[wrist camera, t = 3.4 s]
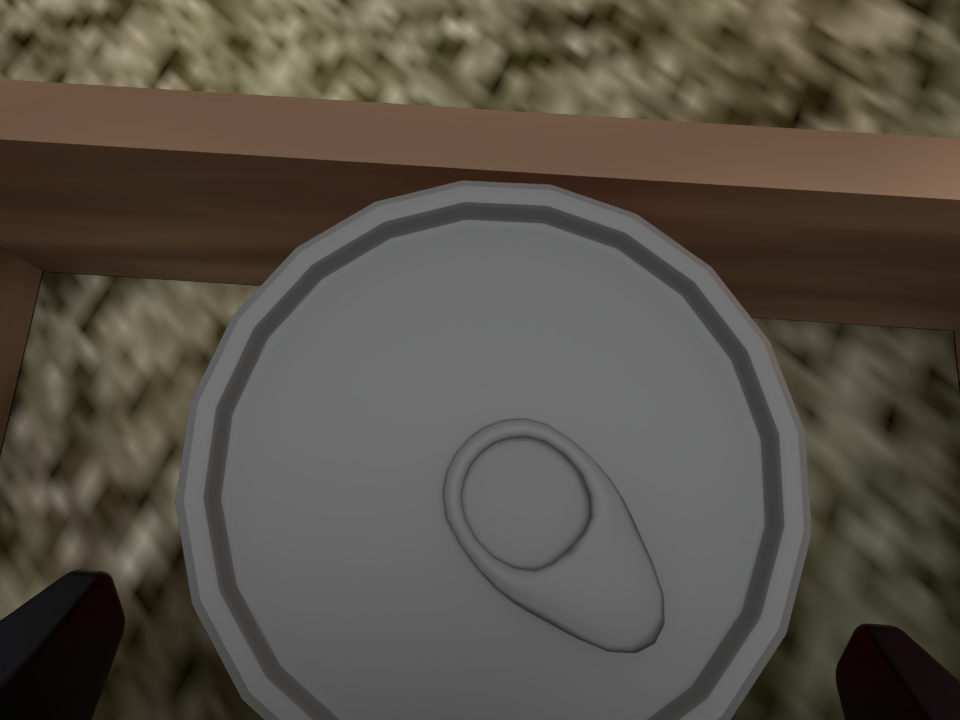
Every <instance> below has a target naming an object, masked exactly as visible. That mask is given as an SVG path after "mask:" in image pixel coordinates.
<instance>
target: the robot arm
mask: <svg viewBox="0 0 960 720" xmlns="http://www.w3.org/2000/svg"><path fill="white" fill-rule="evenodd" d="M124 626H125V617H124V612H123V609H122V606H121V603H120V600H119V597H118V594H117V591H116V588H115V585H114V582H113V579H112V577H111V576H110V575H109V574H108V573H107V572H103V571H89V570H75V571H72V572H70V573H67V574H66V575H64V576H63V577H61V578H60V579H58V580H57V581H56V582H54V583H53V584H51V585H50V586H49V587H47V588H46V589H44V590H43V591H42V592H40V593H39V594H37V595H36V596H35V597H33V598H32V599H30V600H29V601H28V602H26V603H25V604H23V605H22V606H21V607H19V608H18V609H16V610H15V611H14V612H12V613H11V614H9V615H8V616H7V617H5V618H4V619H2V620H1V621H0V720H92V717H93V714H94V712H95V709H96V706H97V704H98V701H99V698H100V695H101V693H102V690H103V687H104V685H105V682H106V679H107V676H108V674H109V671H110V668H111V665H112V663H113V660H114V657H115V655H116V652H117V649H118V646H119V644H120V641H121V638H122V635H123V631H124ZM836 684H837V689H838V693H839V697H840V701H841V705H842V709H843V713H844V717H845V720H960V682H959V681H958V680H957V679H956V678H955V677H954V676H953V675H952V674H950V673H949V672H948V671H947V670H946V669H945V668H944V667H943V666H942V665H940V664H939V663H938V662H937V661H936V660H935V659H934V658H933V657H931V656H930V655H929V654H928V653H927V652H926V651H925V650H924V649H923V648H921V647H920V646H919V645H918V644H917V643H916V642H915V641H914V640H912V639H911V638H910V637H909V636H908V635H907V634H906V633H905V632H903V631H902V630H900V629H899V628H897V627H895V626H890V625H879V624H861V625H860V626H858V627H857V628H856V629H855V630H854V632H853V634H852V636H851V638H850V640H849V642H848V644H847V646H846V648H845V650H844V652H843V654H842V656H841V658H840V660H839V662H838V664H837V668H836Z"/></svg>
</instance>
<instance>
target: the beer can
mask: <svg viewBox="0 0 960 720" xmlns="http://www.w3.org/2000/svg"><path fill="white" fill-rule="evenodd" d="M175 503H176V509H177V516H178V522H179V528H180V534H181V540H182V546H183V552H184V558H185V564H186V570H187V576H188V582H189V588H190V594H191V600H192V605H193V607H194V609H195V611H196V613H197V615H198V617H199V618H200V620H201V622H202V624H203V626H204V628H205V630H206V632H207V634H208V635H209V637H210V639H211V641H212V643H213V645H214V647H215V649H216V651H217V652H218V654H219V656H220V658H221V660H222V662H223V664H224V666H225V668H226V669H227V671H228V673H229V675H230V677H231V679H232V681H233V683H234V685H235V686H236V688H237V690H238V692H239V694H240V696H241V698H242V700H244V701H245V702H246V703H247V704H248V705H249V706H250V707H251V708H252V709H253V710H254V711H255V712H256V713H257V714H259V715H260V716H261V717H262V718H263V719H264V720H731V718H732V717H733V715H734V714H735V712H736V711H737V709H738V707H739V706H740V704H741V703H742V701H743V700H744V698H745V697H746V695H747V694H748V692H749V691H750V689H751V687H752V686H753V684H754V683H755V681H756V680H757V678H758V677H759V675H760V674H761V672H762V670H763V669H764V667H765V666H766V664H767V663H768V661H769V660H770V658H771V657H772V655H773V653H774V652H775V650H776V649H777V647H778V646H779V644H780V643H781V641H782V640H783V638H784V637H785V635H786V633H787V629H788V625H789V621H790V617H791V613H792V609H793V605H794V601H795V597H796V593H797V589H798V585H799V582H800V578H801V574H802V570H803V566H804V562H805V558H806V554H807V550H808V546H809V542H810V538H811V534H812V528H811V513H810V499H809V484H808V469H807V454H806V439H805V431H804V428H803V426H802V423H801V421H800V418H799V415H798V413H797V410H796V408H795V405H794V402H793V400H792V397H791V395H790V392H789V390H788V387H787V384H786V382H785V379H784V377H783V374H782V372H781V369H780V366H779V364H778V361H777V359H776V356H775V354H774V351H773V348H772V346H771V343H770V341H769V340H768V338H767V337H766V336H765V335H764V333H763V332H762V331H761V330H760V328H759V327H758V326H757V324H756V323H755V322H754V321H753V319H752V318H751V317H750V316H749V314H748V313H747V312H746V310H745V309H744V308H743V307H742V305H741V304H740V303H739V301H738V300H737V299H736V298H735V296H734V295H733V294H732V293H731V291H730V290H729V289H728V287H727V286H726V285H725V284H724V282H723V281H722V280H721V279H720V277H719V276H718V275H717V273H716V272H715V271H714V270H713V268H712V267H711V266H709V265H708V264H706V263H705V262H704V261H702V260H701V259H699V258H698V257H697V256H695V255H694V254H692V253H691V252H690V251H688V250H687V249H685V248H684V247H682V246H681V245H680V244H678V243H677V242H675V241H674V240H673V239H671V238H670V237H668V236H667V235H666V234H664V233H663V232H661V231H660V230H659V229H657V228H656V227H654V226H653V225H651V224H650V223H649V222H647V221H646V220H644V219H643V218H642V217H640V216H639V215H637V214H635V213H632V212H629V211H627V210H624V209H621V208H618V207H615V206H612V205H609V204H606V203H603V202H600V201H597V200H594V199H592V198H589V197H586V196H583V195H580V194H577V193H574V192H571V191H568V190H565V189H562V188H560V187H557V186H554V185H547V184H526V183H504V182H482V181H458V182H454V183H450V184H446V185H442V186H438V187H434V188H430V189H426V190H422V191H417V192H413V193H409V194H405V195H401V196H397V197H393V198H389V199H385V200H381V201H377V202H374V203H372V204H370V205H369V206H367V207H365V208H364V209H362V210H360V211H358V212H357V213H355V214H353V215H352V216H350V217H348V218H347V219H345V220H343V221H341V222H340V223H338V224H336V225H335V226H333V227H331V228H329V229H328V230H326V231H324V232H323V233H321V234H319V235H317V236H316V237H314V238H312V239H311V240H309V241H307V242H305V243H304V244H302V245H300V246H299V247H297V248H296V249H295V250H294V251H293V252H292V253H291V254H290V255H289V256H288V257H287V258H286V259H285V260H284V262H283V263H282V264H281V265H280V266H279V267H278V268H277V269H276V270H275V271H274V272H273V273H272V274H271V275H270V277H269V278H268V279H267V280H266V281H265V282H264V283H263V284H262V285H261V286H260V287H259V288H258V289H257V290H256V292H255V293H254V294H253V295H252V296H251V297H250V298H249V299H248V300H247V301H246V302H245V303H244V304H243V306H242V307H241V308H240V309H239V310H238V311H237V312H236V313H235V314H234V315H233V316H232V318H231V320H230V322H229V324H228V326H227V329H226V331H225V333H224V335H223V337H222V339H221V341H220V343H219V345H218V347H217V349H216V351H215V353H214V355H213V357H212V359H211V361H210V363H209V366H208V368H207V370H206V372H205V374H204V376H203V378H202V380H201V382H200V384H199V386H198V388H197V390H196V392H195V394H194V396H193V398H192V400H191V402H190V408H189V414H188V421H187V428H186V434H185V441H184V448H183V454H182V461H181V468H180V474H179V481H178V488H177V494H176V501H175Z"/></svg>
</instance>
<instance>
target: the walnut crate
mask: <svg viewBox="0 0 960 720" xmlns="http://www.w3.org/2000/svg"><path fill="white" fill-rule="evenodd" d="M458 181H482V182H504V183H526V184H547V185H554V186H557V187H560V188H562V189H565V190H568V191H571V192H574V193H577V194H580V195H583V196H586V197H589V198H592V199H594V200H597V201H600V202H603V203H606V204H609V205H612V206H615V207H618V208H621V209H624V210H627V211H629V212H632V213H635V214H637V215H639V216H640V217H642V218H643V219H644V220H646V221H647V222H649V223H650V224H651V225H653V226H654V227H656V228H657V229H659V230H660V231H661V232H663V233H664V234H666V235H667V236H668V237H670V238H671V239H673V240H674V241H675V242H677V243H678V244H680V245H681V246H682V247H684V248H685V249H687V250H688V251H690V252H691V253H692V254H694V255H695V256H697V257H698V258H699V259H701V260H702V261H704V262H705V263H706V264H708V265H709V266H711V267H712V268H713V270H714V271H715V272H716V273H717V275H718V276H719V277H720V279H721V280H722V281H723V282H724V284H725V285H726V286H727V287H728V289H729V290H730V291H731V293H732V294H733V295H734V296H735V298H736V299H737V300H738V301H739V303H740V304H741V305H742V307H743V308H744V309H745V310H746V312H747V313H748V314H749V316H750V317H755V318H770V319H785V320H801V321H816V322H832V323H847V324H862V325H878V326H893V327H909V328H924V329H939V330H954V333H955V343H956V352H957V362H958V372H959V381H960V139H952V138H936V137H920V136H904V135H888V134H872V133H856V132H840V131H824V130H808V129H792V128H775V127H759V126H743V125H727V124H711V123H695V122H679V121H663V120H647V119H631V118H615V117H599V116H583V115H567V114H551V113H535V112H518V111H502V110H486V109H470V108H454V107H438V106H422V105H406V104H390V103H374V102H358V101H342V100H326V99H310V98H294V97H278V96H261V95H245V94H229V93H213V92H197V91H181V90H165V89H149V88H133V87H117V86H101V85H85V84H69V83H53V82H37V81H21V80H4V79H0V451H1V447H2V443H3V438H4V434H5V430H6V426H7V421H8V417H9V413H10V408H11V404H12V400H13V396H14V391H15V387H16V383H17V378H18V374H19V370H20V366H21V361H22V357H23V353H24V348H25V344H26V340H27V335H28V331H29V327H30V323H31V318H32V314H33V310H34V305H35V301H36V297H37V293H38V288H39V284H40V280H41V275H42V271H46V272H62V273H77V274H93V275H108V276H123V277H139V278H154V279H170V280H185V281H200V282H216V283H231V284H247V285H262V284H263V283H264V282H265V281H266V280H267V279H268V278H269V277H270V275H271V274H272V273H273V272H274V271H275V270H276V269H277V268H278V267H279V266H280V265H281V264H282V263H283V262H284V260H285V259H286V258H287V257H288V256H289V255H290V254H291V253H292V252H293V251H294V250H295V249H296V248H297V247H299V246H300V245H302V244H304V243H305V242H307V241H309V240H311V239H312V238H314V237H316V236H317V235H319V234H321V233H323V232H324V231H326V230H328V229H329V228H331V227H333V226H335V225H336V224H338V223H340V222H341V221H343V220H345V219H347V218H348V217H350V216H352V215H353V214H355V213H357V212H358V211H360V210H362V209H364V208H365V207H367V206H369V205H370V204H372V203H374V202H377V201H381V200H385V199H389V198H393V197H397V196H401V195H405V194H409V193H413V192H417V191H422V190H426V189H430V188H434V187H438V186H442V185H446V184H450V183H454V182H458Z"/></svg>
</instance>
